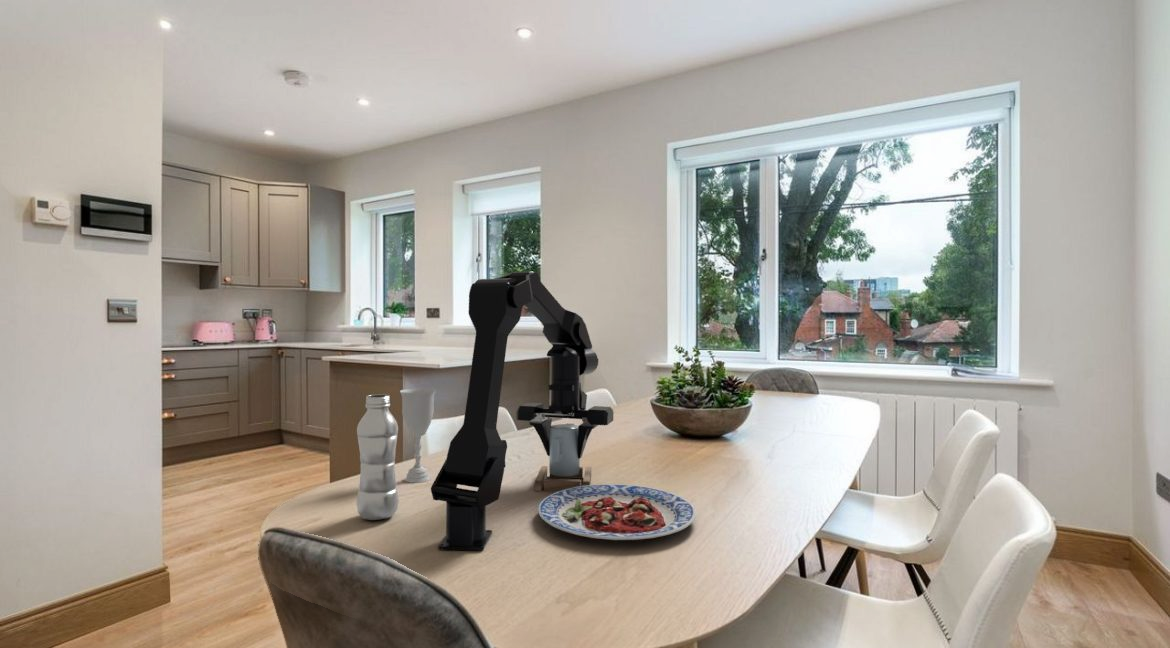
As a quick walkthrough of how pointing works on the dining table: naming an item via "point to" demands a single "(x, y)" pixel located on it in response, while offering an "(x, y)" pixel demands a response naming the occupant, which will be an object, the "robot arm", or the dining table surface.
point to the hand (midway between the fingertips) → (564, 456)
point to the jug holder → (561, 480)
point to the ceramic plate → (617, 511)
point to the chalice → (417, 425)
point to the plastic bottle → (377, 460)
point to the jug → (564, 450)
